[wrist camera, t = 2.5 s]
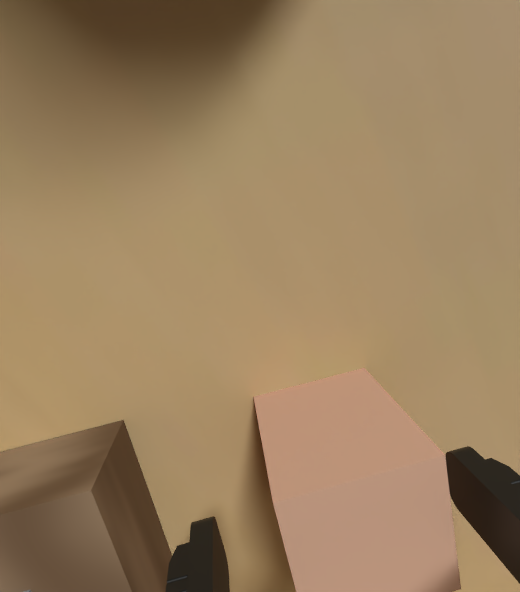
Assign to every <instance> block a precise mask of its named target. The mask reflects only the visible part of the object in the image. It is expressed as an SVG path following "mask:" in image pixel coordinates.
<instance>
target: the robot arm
mask: <svg viewBox="0 0 520 592" xmlns="http://www.w3.org/2000/svg"><path fill="white" fill-rule="evenodd" d="M446 466H447V475H448V483H449V492H450V495H451V498H452V500H453V502H454V504H455V506H456V507H457V509H458V510H459V511H460V512H461V514H462V515H463V516H464V517H465V518H466V520H467V521H468V522H469V523H470V524H471V526H472V527H473V528H474V529H475V530H476V532H477V533H478V534H479V535H480V536H481V538H482V539H483V540H484V541H485V542H486V544H487V545H488V546H489V547H490V548H491V550H492V551H493V552H494V553H495V554H496V556H497V557H498V558H499V559H500V560H501V562H502V563H503V564H504V565H505V566H506V568H507V569H508V570H509V571H510V572H511V574H512V575H513V576H514V577H515V579H516V580H517V581H518V582H519V583H520V476H519V475H518V474H517V473H516V472H515V471H514V470H512V469H511V468H510V467H509V466H507V465H505V464H503V463H500V462H498V461H496V460H494V459H492V458H489V459H486V460H485V459H484V458H483V457H482V456H480V455H479V454H478V453H477V452H476V451H475V450H474V449H473V448H471V447H464V448H460V449H457V450H453V451H449V452H447V453H446ZM165 592H230V589H229V571H228V564H227V558H226V553H225V550H224V546H223V543H222V539H221V536H220V533H219V529H218V526H217V522H216V519H215V517H214V516H213V517H210V518H206V519H203V520H199V521H195V522H192V523H191V530H190V542H189V543H186V544H182V545H179V546H177V548H176V550H175V552H174V554H173V556H172V558H171V560H170V562H169V567H168V575H167V584H166V591H165Z"/></svg>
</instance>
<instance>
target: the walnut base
mask: <svg viewBox="0 0 520 592" xmlns="http://www.w3.org/2000/svg"><path fill="white" fill-rule="evenodd" d="M171 558H172V555H171V552H170V549H169V546H168V544H167V541H166V538H165V535H164V532H163V530H162V527H161V524H160V521H159V518H158V516H157V513H156V510H155V507H154V505H153V502H152V499H151V496H150V493H149V491H148V488H147V485H146V482H145V479H144V477H143V474H142V471H141V468H140V466H139V463H138V460H137V457H136V454H135V452H134V449H133V446H132V443H131V440H130V438H129V435H128V432H127V429H126V426H125V424H124V421H123V420H122V421H118V422H114V423H111V424H107V425H103V426H99V427H95V428H91V429H88V430H84V431H80V432H76V433H72V434H68V435H64V436H61V437H57V438H53V439H49V440H45V441H41V442H38V443H34V444H30V445H26V446H22V447H18V448H14V449H11V450H7V451H3V452H0V592H165V591H166V584H167V575H168V567H169V562H170V560H171Z"/></svg>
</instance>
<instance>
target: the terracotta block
mask: <svg viewBox="0 0 520 592" xmlns="http://www.w3.org/2000/svg"><path fill="white" fill-rule="evenodd" d="M254 403H255V408H256V413H257V419H258V424H259V430H260V435H261V441H262V446H263V451H264V457H265V462H266V468H267V473H268V479H269V484H270V490H271V495H272V500H273V505H274V509H275V513H276V516H277V520H278V524H279V528H280V532H281V535H282V539H283V543H284V547H285V551H286V555H287V558H288V562H289V566H290V570H291V574H292V577H293V581H294V585H295V589H296V592H453V591H456V590H459V589H461V585H460V576H459V568H458V559H457V551H456V542H455V534H454V525H453V517H452V509H451V500H450V492H449V483H448V475H447V466H446V458H445V454H444V453H443V452H442V451H441V450H440V449H439V448H438V447H437V446H436V445H435V444H434V442H433V441H432V440H431V439H430V438H429V437H428V436H427V435H426V434H425V433H424V432H423V431H422V429H421V428H420V427H419V426H418V425H417V424H416V423H415V422H414V421H413V420H412V419H411V418H410V417H409V415H408V414H407V413H406V412H405V411H404V410H403V409H402V408H401V407H400V406H399V405H398V404H397V402H396V401H395V400H394V399H393V398H392V397H391V396H390V395H389V394H388V393H387V392H386V391H385V390H384V388H383V387H382V386H381V385H380V384H379V383H378V382H377V381H376V380H375V379H374V378H373V377H372V376H371V374H370V373H369V372H368V371H367V370H366V369H365V368H361V369H358V370H354V371H350V372H346V373H342V374H338V375H335V376H331V377H327V378H323V379H319V380H316V381H312V382H308V383H304V384H300V385H296V386H293V387H289V388H285V389H281V390H277V391H274V392H270V393H266V394H262V395H258V396H254Z"/></svg>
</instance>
